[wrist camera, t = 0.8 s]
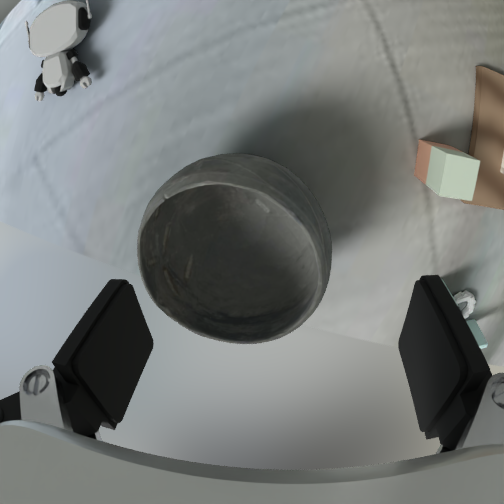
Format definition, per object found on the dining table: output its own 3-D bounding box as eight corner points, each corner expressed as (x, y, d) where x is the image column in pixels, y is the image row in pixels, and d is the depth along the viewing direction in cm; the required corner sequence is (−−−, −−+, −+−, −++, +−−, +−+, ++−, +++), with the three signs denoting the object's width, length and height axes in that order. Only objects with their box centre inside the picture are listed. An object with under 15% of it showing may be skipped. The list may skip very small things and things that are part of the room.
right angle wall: (472, 320, 48) (486, 347, 42) (422, 329, 50) (433, 358, 43) (489, 270, 42) (508, 296, 36) (435, 277, 44) (452, 305, 38)
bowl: (211, 111, 35) (168, 126, 22) (354, 192, 38) (385, 250, 26) (153, 238, 45) (108, 299, 32) (274, 299, 49) (267, 375, 36)
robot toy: (105, 85, 35) (101, -8, 26) (87, 89, 31) (84, -12, 22) (45, 100, 36) (40, 18, 27) (27, 106, 32) (22, 18, 23)
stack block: (419, 139, 33) (446, 153, 27) (449, 145, 33) (480, 160, 26) (414, 175, 36) (438, 196, 29) (444, 179, 36) (471, 201, 29)
